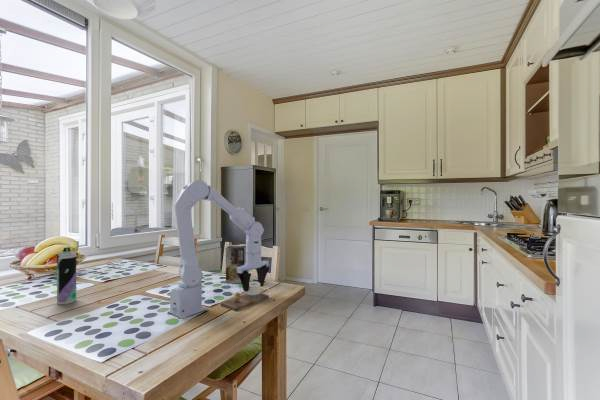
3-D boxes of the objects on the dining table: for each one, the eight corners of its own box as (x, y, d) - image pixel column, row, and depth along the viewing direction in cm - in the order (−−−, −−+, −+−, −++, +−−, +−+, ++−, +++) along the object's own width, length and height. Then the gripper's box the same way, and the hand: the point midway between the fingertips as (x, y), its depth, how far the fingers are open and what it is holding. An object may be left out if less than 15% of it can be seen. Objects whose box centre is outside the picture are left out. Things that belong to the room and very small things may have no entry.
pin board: (235, 311, 94) (235, 298, 94) (220, 305, 98) (220, 293, 98) (268, 297, 106) (268, 286, 106) (254, 293, 111) (254, 282, 111)
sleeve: (253, 299, 102) (253, 286, 102) (244, 296, 105) (244, 284, 105) (263, 295, 106) (263, 283, 106) (253, 292, 109) (253, 281, 109)
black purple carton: (65, 305, 99) (65, 249, 99) (52, 303, 100) (52, 248, 100) (80, 299, 104) (80, 246, 104) (68, 298, 105) (68, 246, 106)
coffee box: (248, 279, 131) (248, 245, 131) (244, 283, 124) (244, 247, 124) (230, 279, 132) (230, 245, 132) (225, 283, 125) (225, 247, 125)
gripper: (259, 248, 114) (259, 281, 114) (231, 254, 102) (231, 291, 102) (272, 250, 109) (272, 285, 109) (244, 256, 98) (244, 295, 98)
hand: (253, 288), depth 106 cm, fingers open, 7 cm apart
